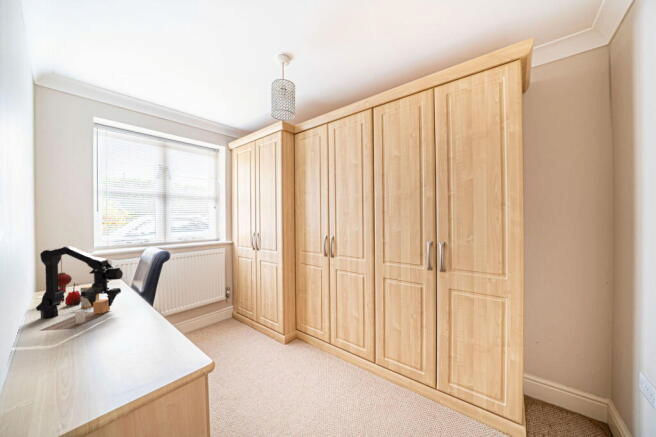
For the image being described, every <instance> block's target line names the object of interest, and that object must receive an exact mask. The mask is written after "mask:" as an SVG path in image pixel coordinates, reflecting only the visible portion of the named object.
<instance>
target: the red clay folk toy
mask: <svg viewBox="0 0 656 437" xmlns="http://www.w3.org/2000/svg"><path fill="white" fill-rule="evenodd" d="M72 285H73V288H72V291H69V292H68V293H67V295H66V297H65V298H64V302H65V305H66V306H68V307H72V305H73V306H77V305H79V304H81V292H80V291H79V290H75V287H76V286H79V284H78V283H77V284H76V282H74V283H72Z"/></svg>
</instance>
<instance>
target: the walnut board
mask: <svg viewBox="0 0 656 437" xmlns="http://www.w3.org/2000/svg"><path fill="white" fill-rule="evenodd" d="M111 312H112V310H109V311H107V312H104V313H96V314H94V312H93V311H85V322H83V323H78V324H76V314H75V315H73V316H71V317H68V318H64V319H63V320H61V321H59V322H56V323H54V324H52V325H49V326H47V327H45V328H42V329H40V330H39V332H40V331H41V332H42V331H43V332H44V331H57V330H59V331H60V330H75V329H78V328H79V327H81V326H83V325H85V324H88V323H89V322H91V321H94V320H96V319H98V318H101V317H102V316H104V315H107V314H108V313H111Z"/></svg>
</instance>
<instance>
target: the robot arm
mask: <svg viewBox="0 0 656 437" xmlns="http://www.w3.org/2000/svg"><path fill="white" fill-rule="evenodd" d="M64 255H67V256H69V257H71V258H74V259H76V260H78V261H81V262H83V263H85V264H86V265H87V266H88V267H90V268H91V269H92V270H91V271H89V275H90V274H91V275H93V283H92V284H91V285H92V287H91V288H89V289H88V290H85V291H82V292H81V291H80V295H81V297H83V298H86V299H88V300H89V302H90V304H91V305H92V306H91V307H92V308H93V302H95V301H96V295H97V294H99V295H100V294H101V295H104V294H106V298H107V299H108V304H109V306H110V307H111V306H112V305H113V303H114V300H115V298H116V297H117V296H118V295H119V294H120V293H122V289H121V288H120V287H113V288H110V287H109V286H108V283H109V282H110V281H112V280H113V281H114V280H121V279H122V278H123V274H124V273H123V270H122V269H121V267H115V268H114V267H113V266H112V265H111V264H110V263H109V260H108V259H107V258H104V257H101V256H94V255H91V254H89V253H87V252H85V251H82V250H80V249H78V248H76V247H74V246H72V245H68V246H67V245H66V246H63V247H60V248H51V249H45V250H42V252H40V261H41V262H42V264H43V265H44V267H45V292H44V293H43V295H42V298H41V302H40V303H39V304H38V305H37V306H36V307H35V309H36V311H37V312H40V319H42V320H47V319H54V318H57V317H58V316H59V309H58V306H60V305H61V302H62V300H63V298H64V299H65V293H64V291H60V290H59V286H58V273H59V263H61V260H62V256H64Z"/></svg>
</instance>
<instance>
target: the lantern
mask: <svg viewBox="0 0 656 437" xmlns="http://www.w3.org/2000/svg"><path fill="white" fill-rule="evenodd" d="M62 263H63V261H62V259H61V260H60V269H61V272H58V287H59V290H60V291H64V294H65V293H67V285H69V284H70V283H71V282H72V280H73V278H72V276H71V275H70V274H68V273H66V272H63V264H62ZM63 301H64V302H65V297H64V298H63V300H62V301H61V302H62V303H63Z"/></svg>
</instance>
